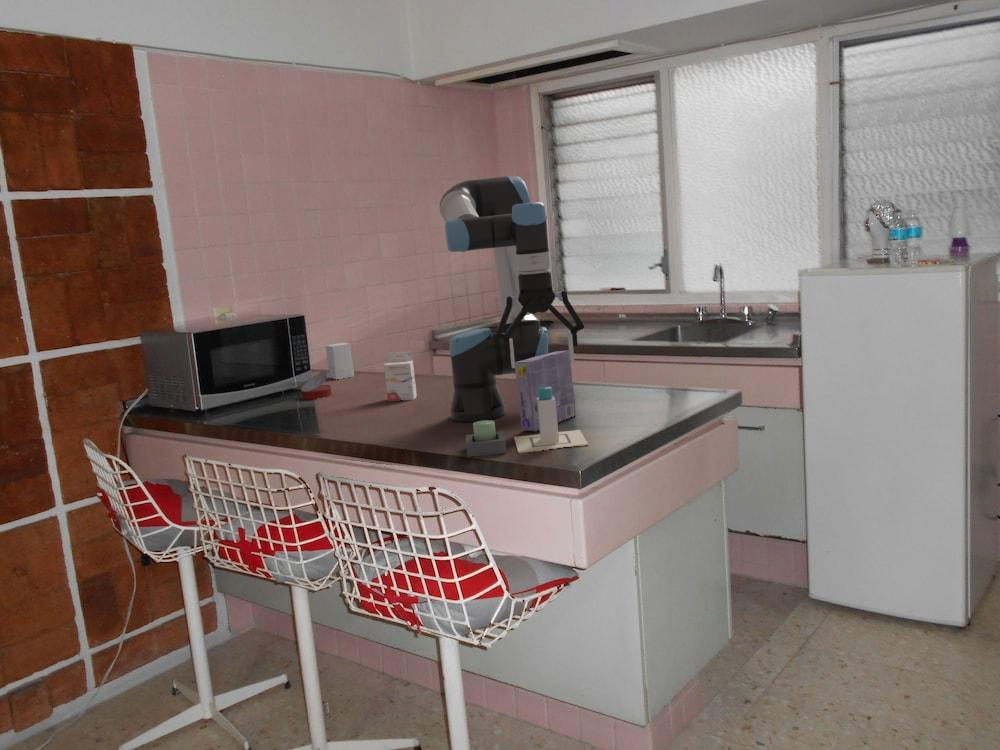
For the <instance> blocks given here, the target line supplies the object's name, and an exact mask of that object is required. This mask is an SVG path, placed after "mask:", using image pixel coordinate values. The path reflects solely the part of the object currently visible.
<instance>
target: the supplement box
mask: <svg viewBox="0 0 1000 750" xmlns="http://www.w3.org/2000/svg"><path fill="white" fill-rule="evenodd" d="M325 353H326V359H327V360H326V361H327V366H328V372H329V374H328V375H329V379H332V378H333V380H335V379H336V381H338V380H337V379H339V380H343V378H345V379H349V378H348V377H350V378H354V377H355V370H354V364H353V357H352V349H351V343H347V342H339V343H332V344H326V345H325Z"/></svg>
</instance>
